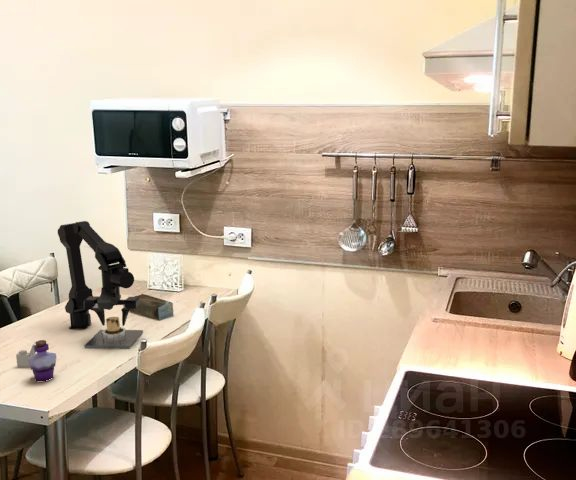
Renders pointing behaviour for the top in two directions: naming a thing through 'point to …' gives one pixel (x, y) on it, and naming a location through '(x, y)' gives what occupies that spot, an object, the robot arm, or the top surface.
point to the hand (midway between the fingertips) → (113, 325)
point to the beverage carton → (153, 307)
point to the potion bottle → (42, 361)
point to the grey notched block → (24, 357)
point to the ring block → (114, 339)
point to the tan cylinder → (113, 325)
